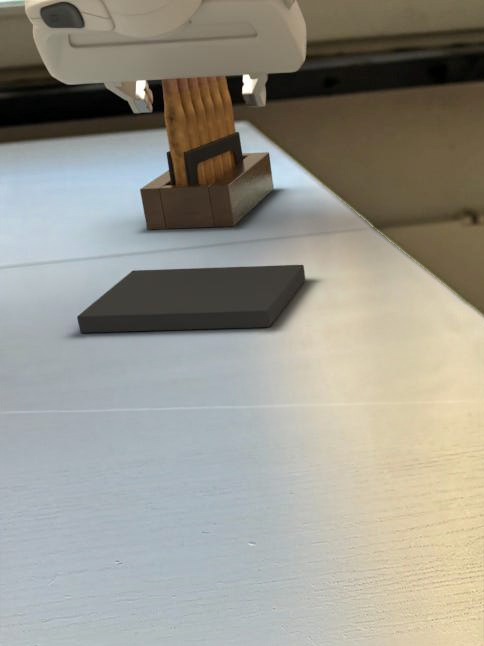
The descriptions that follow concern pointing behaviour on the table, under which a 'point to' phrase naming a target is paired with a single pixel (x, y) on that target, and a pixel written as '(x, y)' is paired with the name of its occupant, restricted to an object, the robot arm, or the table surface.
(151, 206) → the bullet clip holder
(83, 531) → the table surface
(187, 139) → the stripper clip of bullets
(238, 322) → the rubber mat
